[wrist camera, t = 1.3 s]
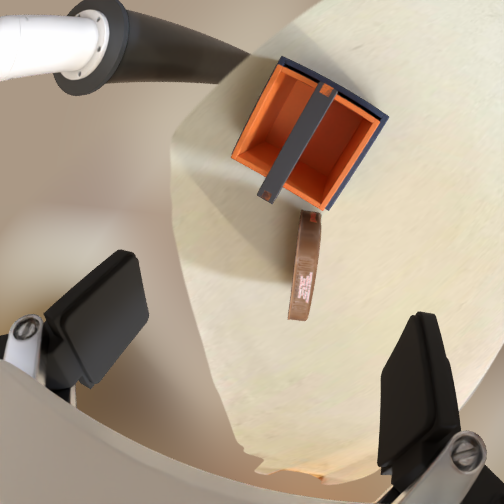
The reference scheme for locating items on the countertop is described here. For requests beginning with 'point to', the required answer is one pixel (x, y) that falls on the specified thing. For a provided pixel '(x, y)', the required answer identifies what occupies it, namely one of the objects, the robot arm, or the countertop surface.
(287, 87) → the basket
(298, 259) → the tin
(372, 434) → the countertop surface
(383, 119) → the bin outer
